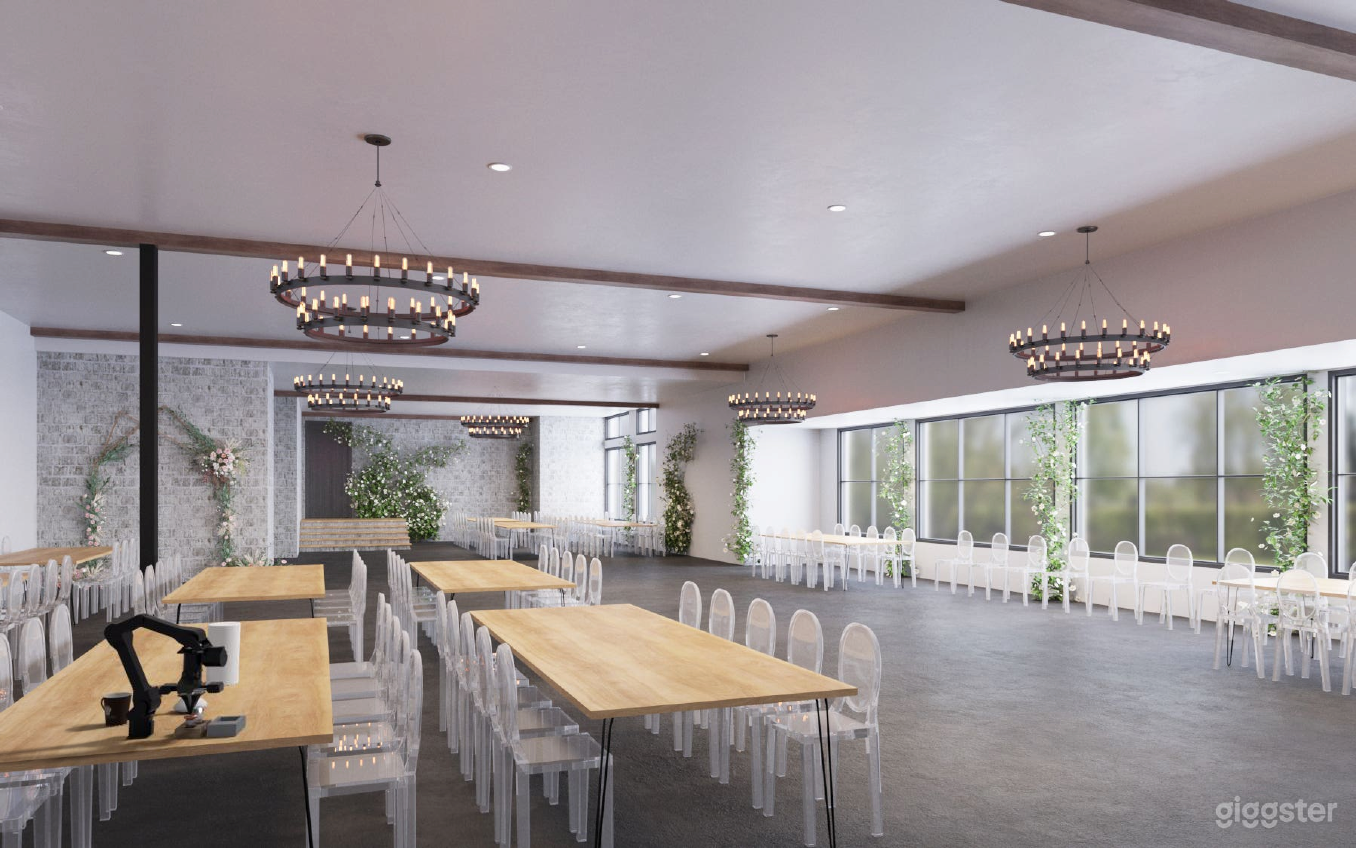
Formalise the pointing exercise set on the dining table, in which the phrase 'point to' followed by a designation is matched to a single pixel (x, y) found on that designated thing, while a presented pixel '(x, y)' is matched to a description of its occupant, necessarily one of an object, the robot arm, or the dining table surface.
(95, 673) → the dining table surface
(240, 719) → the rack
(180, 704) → the flower in vase
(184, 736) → the socket block
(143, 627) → the robot arm
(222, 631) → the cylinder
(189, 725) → the pin
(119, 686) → the dining table surface
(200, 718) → the peg
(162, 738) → the dining table surface
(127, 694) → the coffee mug
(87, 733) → the dining table surface
